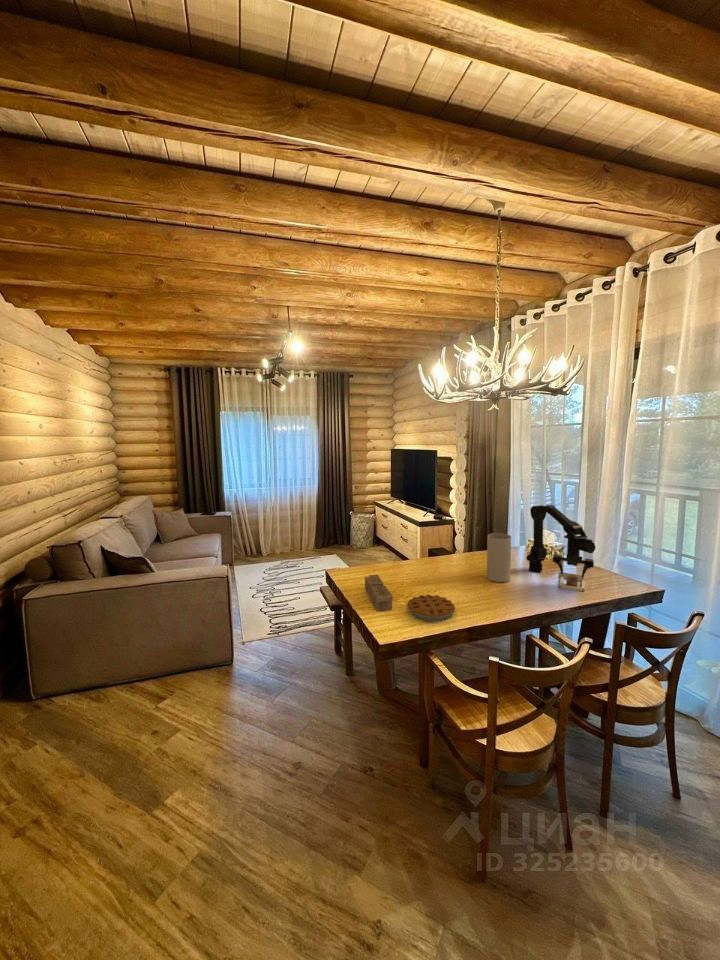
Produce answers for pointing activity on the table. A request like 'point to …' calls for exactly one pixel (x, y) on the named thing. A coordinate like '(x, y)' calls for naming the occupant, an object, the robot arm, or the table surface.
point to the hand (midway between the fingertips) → (572, 576)
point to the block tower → (378, 593)
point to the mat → (574, 574)
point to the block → (572, 580)
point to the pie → (431, 608)
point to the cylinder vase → (498, 557)
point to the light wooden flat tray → (571, 586)
